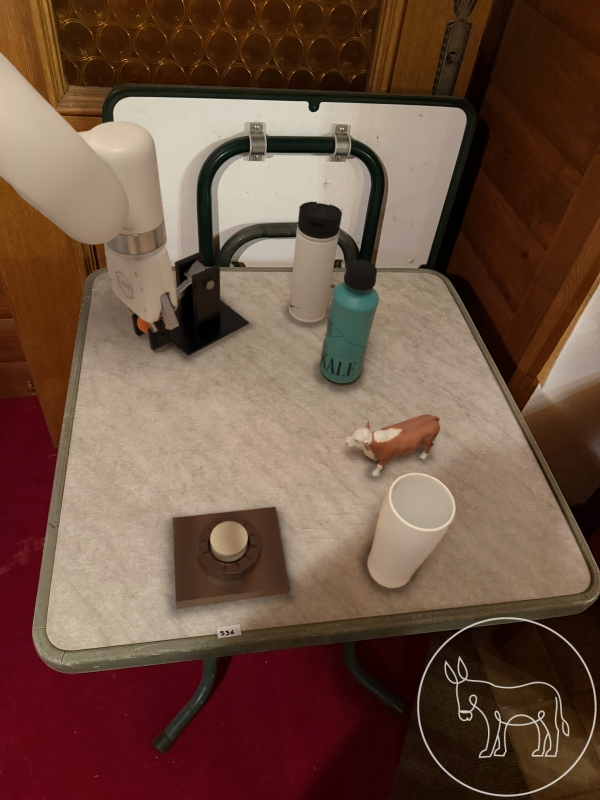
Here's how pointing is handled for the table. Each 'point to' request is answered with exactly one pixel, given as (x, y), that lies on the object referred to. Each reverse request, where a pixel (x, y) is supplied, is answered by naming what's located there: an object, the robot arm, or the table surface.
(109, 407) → the table surface
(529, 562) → the table surface
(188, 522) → the control block
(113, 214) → the robot arm
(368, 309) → the beverage bottle
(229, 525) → the stop button
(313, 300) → the travel mug
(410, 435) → the bull figurine
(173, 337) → the switch bracket
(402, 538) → the drinking glass
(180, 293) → the lever
